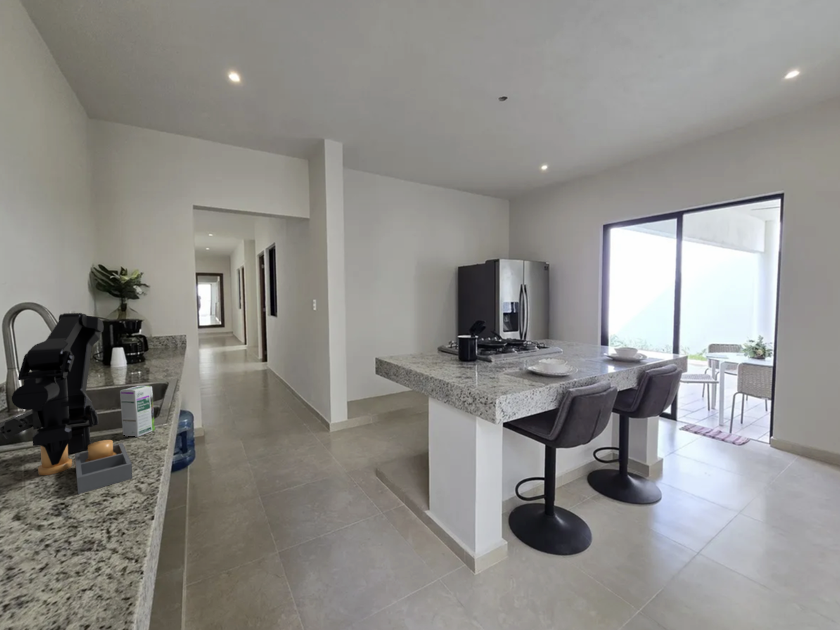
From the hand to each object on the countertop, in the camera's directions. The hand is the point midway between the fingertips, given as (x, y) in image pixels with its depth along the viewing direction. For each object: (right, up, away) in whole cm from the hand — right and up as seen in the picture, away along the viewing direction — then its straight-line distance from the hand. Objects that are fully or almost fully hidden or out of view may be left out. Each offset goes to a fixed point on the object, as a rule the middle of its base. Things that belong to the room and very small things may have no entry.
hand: (55, 461), depth 87 cm
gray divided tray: (+13, -2, -2) cm, 14 cm away
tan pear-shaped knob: (0, -2, 0) cm, 2 cm away
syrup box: (+2, -1, +23) cm, 24 cm away
